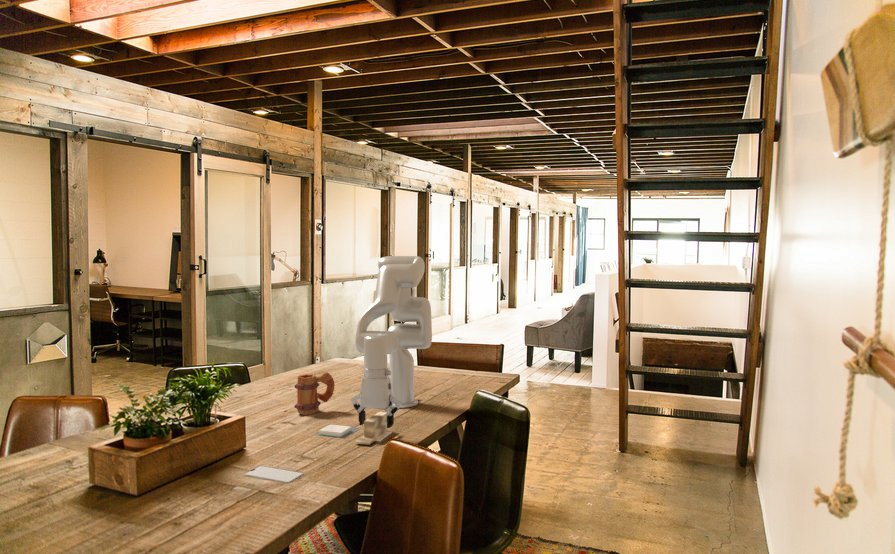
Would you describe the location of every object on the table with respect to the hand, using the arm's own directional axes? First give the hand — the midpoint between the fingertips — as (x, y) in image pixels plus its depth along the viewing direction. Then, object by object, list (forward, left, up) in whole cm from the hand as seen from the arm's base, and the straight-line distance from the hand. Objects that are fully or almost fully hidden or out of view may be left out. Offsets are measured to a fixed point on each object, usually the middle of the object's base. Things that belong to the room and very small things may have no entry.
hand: (376, 425), depth 198 cm
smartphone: (+38, -13, -5) cm, 41 cm away
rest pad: (0, 0, -4) cm, 4 cm away
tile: (-2, -14, -3) cm, 14 cm away
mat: (0, -14, -4) cm, 15 cm away
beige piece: (+2, 0, -3) cm, 4 cm away
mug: (-20, -34, -4) cm, 40 cm away
